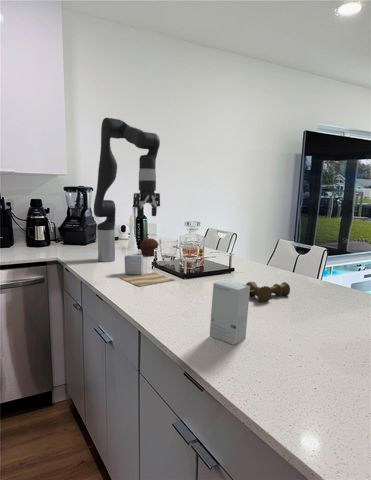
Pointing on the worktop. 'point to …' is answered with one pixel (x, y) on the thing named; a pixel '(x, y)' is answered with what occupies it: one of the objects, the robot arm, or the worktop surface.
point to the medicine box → (134, 264)
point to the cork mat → (147, 279)
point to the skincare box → (229, 311)
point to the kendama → (268, 291)
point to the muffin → (148, 247)
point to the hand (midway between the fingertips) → (147, 216)
